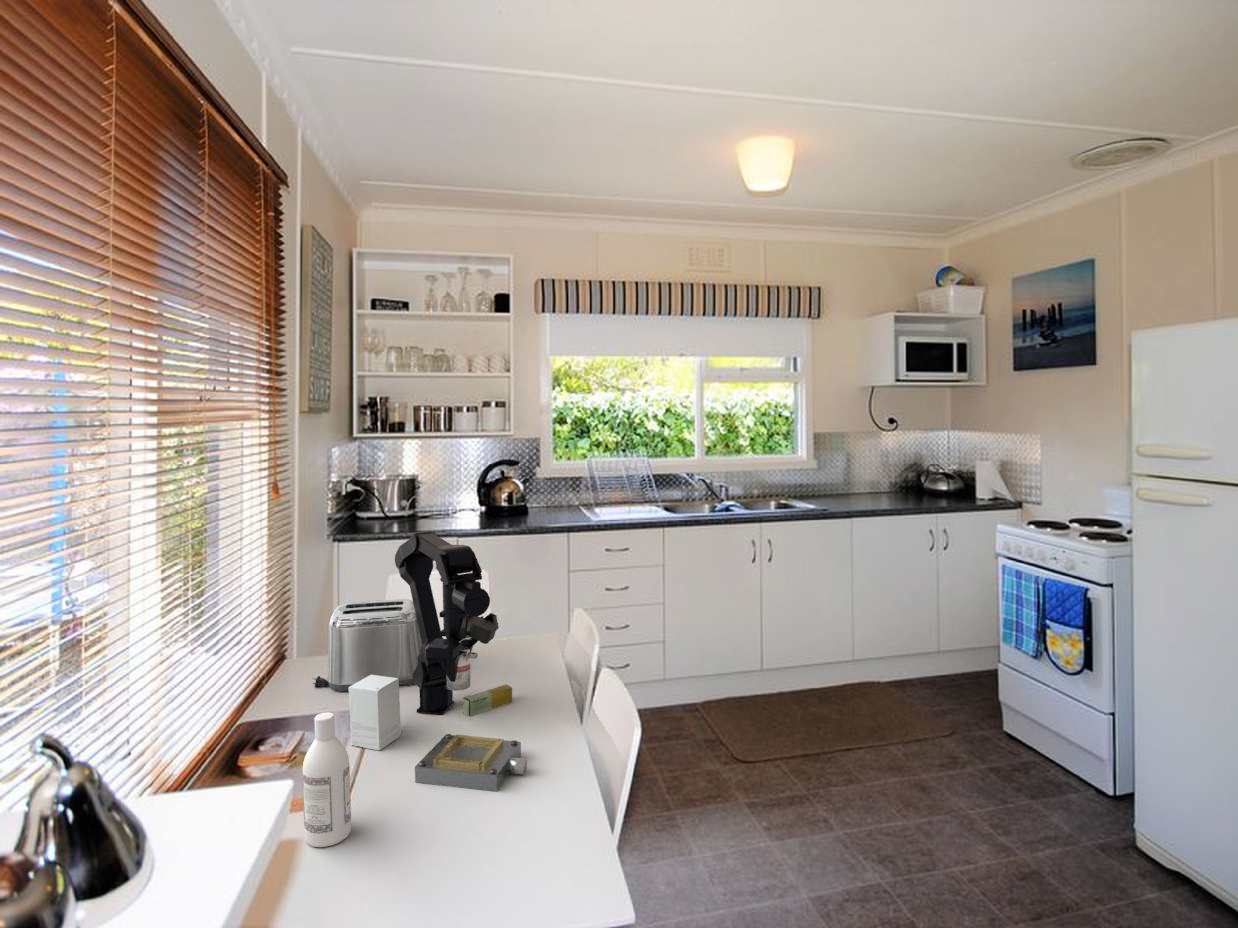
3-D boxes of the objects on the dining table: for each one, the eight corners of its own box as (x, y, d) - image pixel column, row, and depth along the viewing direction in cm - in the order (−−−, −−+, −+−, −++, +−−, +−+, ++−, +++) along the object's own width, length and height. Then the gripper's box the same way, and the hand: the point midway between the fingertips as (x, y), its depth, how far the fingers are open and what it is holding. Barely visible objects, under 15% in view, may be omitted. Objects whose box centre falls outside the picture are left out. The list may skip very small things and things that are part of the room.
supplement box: (402, 735, 146) (400, 677, 145) (379, 751, 139) (377, 690, 138) (373, 730, 148) (371, 673, 147) (349, 745, 141) (347, 686, 140)
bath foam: (338, 817, 116) (334, 702, 114) (359, 833, 111) (355, 714, 110) (297, 837, 111) (292, 716, 109) (317, 854, 106) (313, 729, 105)
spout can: (442, 689, 145) (441, 652, 145) (452, 680, 150) (451, 644, 150) (472, 692, 144) (471, 654, 144) (481, 682, 149) (481, 646, 149)
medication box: (468, 718, 154) (468, 700, 154) (462, 714, 156) (462, 697, 156) (512, 702, 163) (513, 686, 162) (506, 699, 164) (506, 682, 164)
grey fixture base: (415, 782, 127) (414, 761, 127) (446, 748, 140) (445, 729, 139) (512, 793, 123) (512, 771, 123) (535, 757, 136) (535, 738, 136)
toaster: (434, 686, 172) (432, 611, 171) (307, 698, 165) (304, 620, 164) (435, 662, 188) (433, 594, 187) (319, 672, 181) (317, 601, 180)
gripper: (474, 620, 135) (476, 697, 137) (508, 595, 154) (509, 663, 155) (422, 617, 138) (424, 692, 139) (461, 593, 156) (463, 660, 157)
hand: (458, 676), depth 147 cm, fingers closed on spout can, 5 cm apart
